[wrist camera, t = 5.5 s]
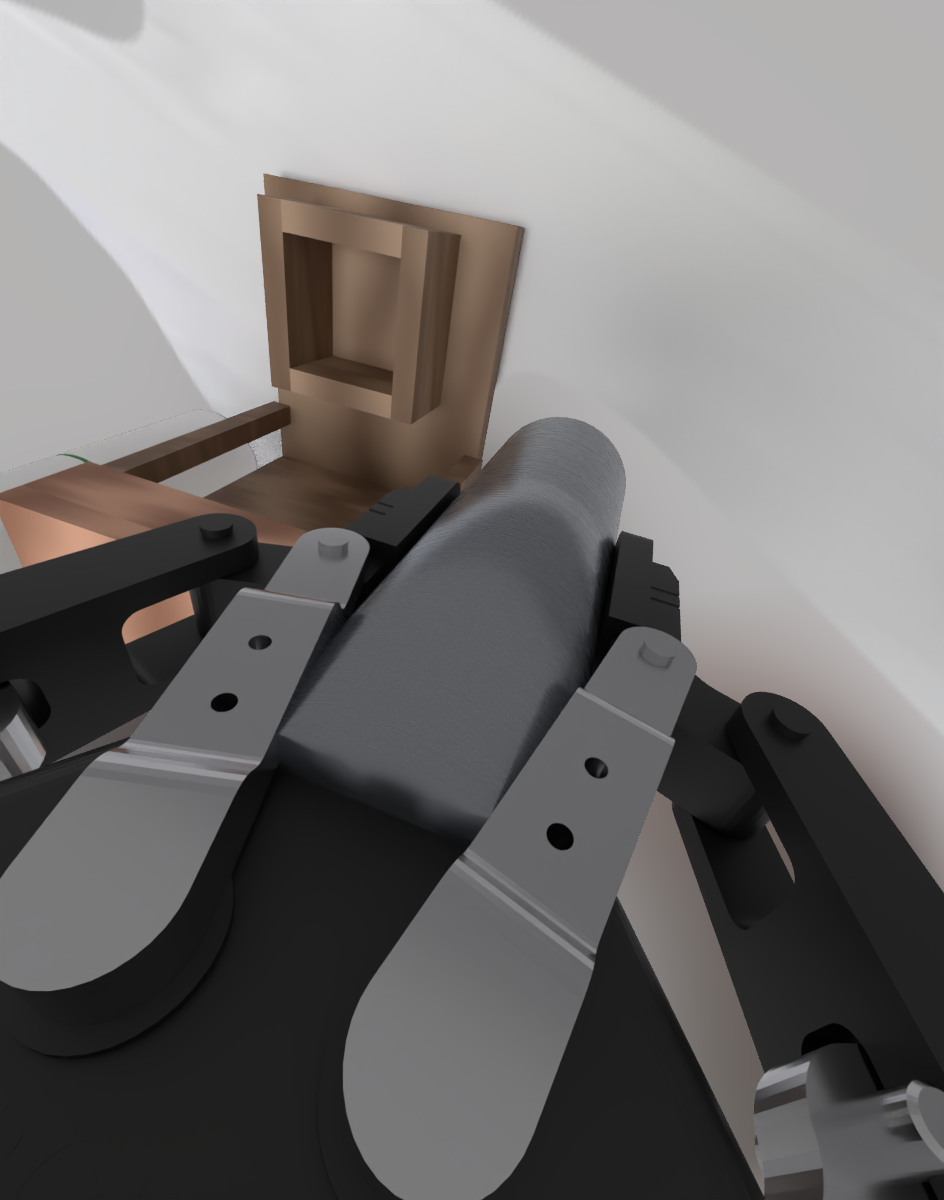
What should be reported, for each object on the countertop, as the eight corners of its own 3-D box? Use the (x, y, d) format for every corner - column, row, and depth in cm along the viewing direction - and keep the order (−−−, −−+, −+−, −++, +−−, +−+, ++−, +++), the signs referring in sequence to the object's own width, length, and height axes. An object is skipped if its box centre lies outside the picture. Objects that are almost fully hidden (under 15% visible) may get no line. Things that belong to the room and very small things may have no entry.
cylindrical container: (207, 504, 42) (-189, 719, 22) (161, 418, 39) (-355, 584, 19) (272, 494, 39) (-113, 727, 20) (229, 401, 36) (-289, 572, 16)
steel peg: (646, 438, 14) (601, 841, 4) (600, 560, 16) (504, 992, 6) (508, 401, 14) (192, 678, 5) (483, 523, 17) (241, 870, 7)
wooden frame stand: (533, 229, 25) (346, 184, 10) (475, 529, 36) (341, 727, 21) (272, 175, 27) (-206, 71, 12) (290, 473, 38) (45, 615, 23)
